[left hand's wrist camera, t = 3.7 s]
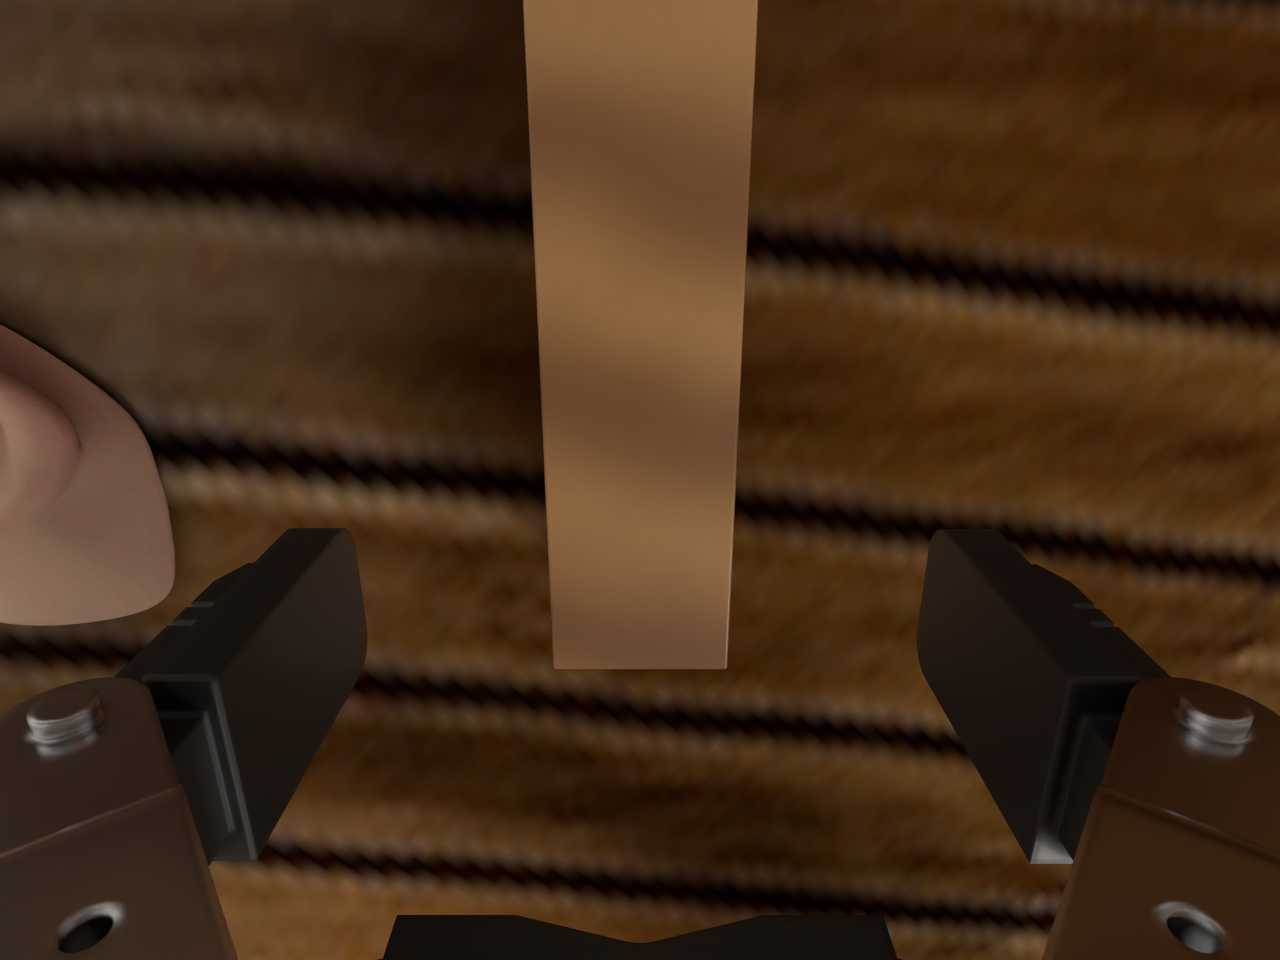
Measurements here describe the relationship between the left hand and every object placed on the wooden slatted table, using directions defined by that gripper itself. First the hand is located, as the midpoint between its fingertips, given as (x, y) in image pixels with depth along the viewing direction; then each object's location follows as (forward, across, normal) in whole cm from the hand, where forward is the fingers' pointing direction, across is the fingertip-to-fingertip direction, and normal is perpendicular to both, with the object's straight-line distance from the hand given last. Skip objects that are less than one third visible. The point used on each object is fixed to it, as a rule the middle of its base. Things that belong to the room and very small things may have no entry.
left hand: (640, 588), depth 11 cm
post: (+15, 0, -24) cm, 28 cm away
